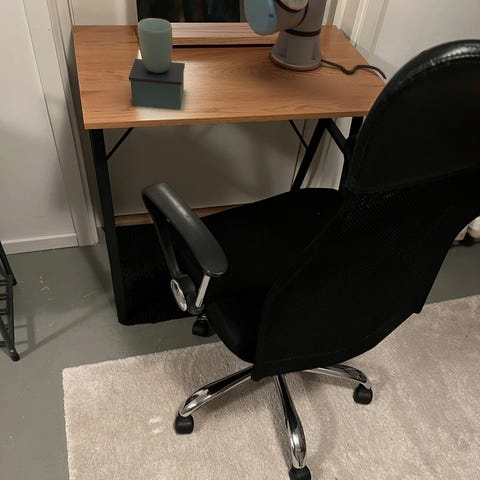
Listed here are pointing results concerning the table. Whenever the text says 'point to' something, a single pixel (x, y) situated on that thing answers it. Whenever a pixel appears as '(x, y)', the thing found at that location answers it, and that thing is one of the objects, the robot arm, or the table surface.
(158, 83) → the container
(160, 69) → the cup
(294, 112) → the table surface
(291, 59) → the robot arm
